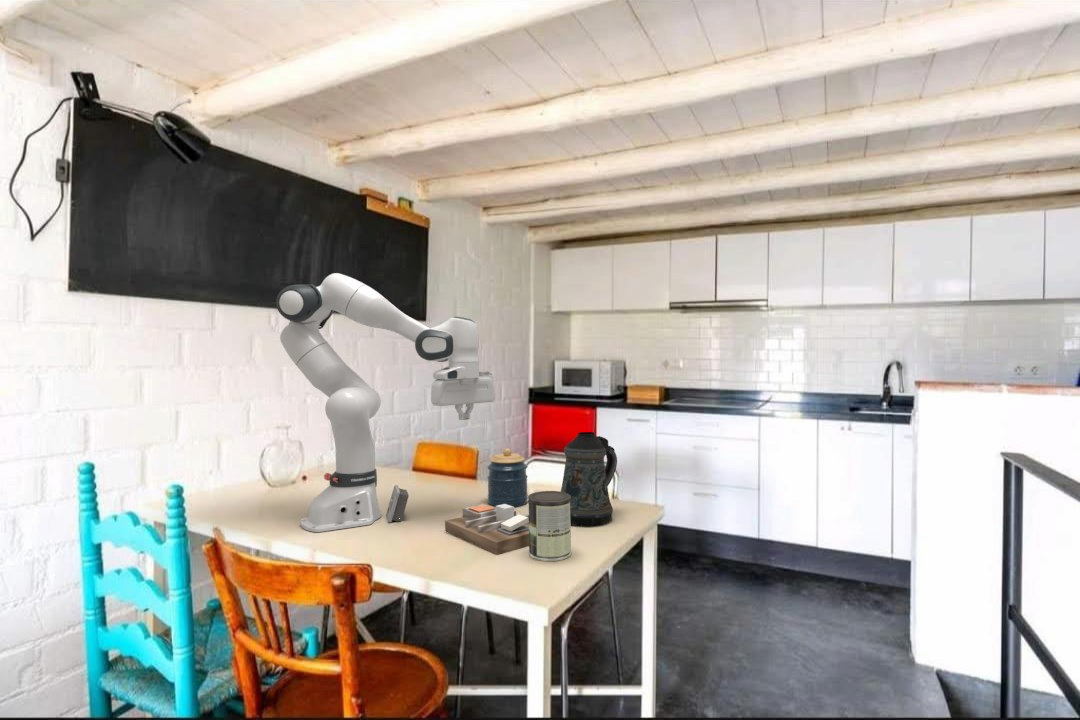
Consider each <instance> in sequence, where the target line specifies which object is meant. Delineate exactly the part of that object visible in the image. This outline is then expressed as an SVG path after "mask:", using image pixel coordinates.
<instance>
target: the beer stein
mask: <svg viewBox="0 0 1080 720" xmlns="http://www.w3.org/2000/svg"><path fill="white" fill-rule="evenodd" d="M563 448H564V449H563V451H564V455H565V464H564V470H563V478H562V484H561V489H560V492H565V493H568V494H569V495H570V496H571V500H570V517H571V527H577V528H578V527H579V528H581V527H582V528H592V527H600V526H604V525H607V524H609V523H611V521H612V515H613V512H614V507H613V506H612V502H611V499H610V496H609V494H610V493H609V488H608V487H609V485H610V483H611V481H612V480H613V477H614V475H615V474H616V470H617V466H618V457H617V454H616V452H615V448H614V447H612V446H611V445H609V440H608V439H607V438H606V437H603V436H601V435H599V436H598V435H596V433H595V432H592V431H584V432H583V431H581V432H577V435H576V437H575V438H574V439H572V440H571V441H570V442H569V443H568V444H566V445H565V447H563ZM605 457H606V464H605Z"/></svg>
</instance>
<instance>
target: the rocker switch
mask: <svg viewBox="0 0 1080 720" xmlns="http://www.w3.org/2000/svg"><path fill="white" fill-rule="evenodd" d="M528 522H529V519H528V517H525V516H523V515H522V514H519V513H518V514H516V516H514V517H512V518H510V519H508V520H506V521H504V522H503V523H501V528H503V529H506V530H509V531H513V530H515V529H517V528H518V527H520V526H522V525H524V524H526V523H528Z"/></svg>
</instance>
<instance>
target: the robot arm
mask: <svg viewBox="0 0 1080 720" xmlns="http://www.w3.org/2000/svg"><path fill="white" fill-rule="evenodd" d="M275 304H276V309H277V310H278V311H277V312H278V313H279V314H280V315H281V317H283V318H285V320H288V321H289V322H288V324H287V325H286V326H285V327H284V328H283V329H282V330H281V333H280V337H279V339H280V342H281V345H282V346H283V348H284V350H285V352H286V354H287V355H288V357H289V358H290V360H292V361H291V362H293V363H294V365H295V366H296V368H298V370H299V371H300V372H301V373H302V374H303V376H304V377H305V378H306V379H307V380H308V382H309V383H310V384H311V385H312V386H313V387H314V388H316V389H317V390H318V391H320V392H321V393H322V394H324V395H326V396H327V397H328V399H327V401H326V402H325V407H324V408H325V409H324V410H325V415H326V417H327V419H328V420H329V423H330V426H331V431H332V435H333V438H334V440H333V441H334V446H335V471H334V472H333V473H332V474H331V473H329V472H325V473H324V474H323V479H324V480H325V481H329V485H328V486H327V487H326V488H325V489H324V490H323V491H322V492H320V493H319V494H318V495H317V496H315V497H314V498H313V499H312V500H311V502H310V503H309V506H308V514H307V517H306V516H305V517H303V518H301V519H300V521H299V522H300V523H299V526H300V527H301V528H303V529H304V530H306V531H308V532H313V533H323V532H329V531H335V530H343V529H349V528H355V527H362V526H368V525H372V524H374V522H375V521H376V520H378V519H379V518H381V517H382V513H381V509H380V505H379V502H378V495H377V485H378V483H377V482H378V475H377V474H378V473H377V468H376V457H375V455H376V450H375V449H376V447H375V440H374V439H373V436H372V432H371V431H372V430H371V426H370V419H372V418H373V417H375V416H376V414H377V413H378V411H379V410H380V407H381V402H382V401H381V396H380V395H379V393H378V391H377V390H375V389H374V388H372V387H371V386H370V385H369V384H368V383H367V382H366V381H365V380H364V379H363V378H362V377H361V376H360V375H359V374H358V373H357V372H355V371H354V370H353V369H352V368H351V367H350V366H349V365H347V363H346V362H344V359H342V358H341V357H340V356H339V354H338V353H337V351H336V350H334V348H333V347H332V346H331V345H330V344H329V342H328V341H327V340H326V339H325V338H324V337H323V335H322V334H321V332H320V330H321V329H323V328H324V326H325V325H326V323H327V322H328V320H329V319H330V318H331V317H332V315H333V313H334V311H335V312H337V313H339V314H341V315H342V316H343V317H346V318H348V319H349V320H352V321H354V322H355V323H358V324H360V325H362V326H366V327H370V328H373V329H374V328H376V329H382V330H387V331H390V332H394V333H395V334H399V335H400V336H401V337H404V338H406V339H407V340H409V341H411V342H412V343H414V349H415V351H416V354H417V355H418V357H420V358H422V359H423V360H425V361H428V362H437V363H444V362H448V366H445V367H444V368H441V369H437V370H436V371H434V372H433V373H432V376H433V377H432V378H433V379H434V380H433V382H432V384H431V390H430V391H431V393H430V401H431V404H432V406H436V407H443V406H454V409H455V410H456V412H457V414H458V420H459V421H465V420H471V413H472V411H473V409H474V406H475V405H474V404H482V403H483V404H484V403H493V402H494V401H495V399H496V393H495V384H494V375H493V374H492V373H491V372H490V371H480V360H479V356H478V355H479V353H478V352H479V348H480V347H479V346H480V345H479V330H478V325H477V323H476V322H475V321H474V320H473V319H470V318H466V317H460V316H452V317H450V318H449V319H447V320H446V321H444V322H443V323H441V324H438V325H437V326H436V325H435V326H433V327H430V326H427V325H426V324H423V323H422V322H420V321H418V320H416V319H415V318H413V317H410V316H409V315H407V314H405V313H404V312H403V311H401V310H400V309H399V308H398V307H396V306H395V305H394V304H392V303H391V302H390V300H388V299H387V298H385V297H384V296H383V295H382V294H381V293H379V292H378V291H377V290H375V289H374V288H372V287H371V286H369V285H367V284H365V283H363V282H362V281H359V280H358V279H356V278H353V277H351V276H349V275H347V274H346V275H345V274H342V273H338V272H336V273H335V272H334V273H331V274H329V275H327V276H325V278H324V279H323V281H322V282H321V284H320V285H318V286H315V285H314V284H292V285H288V286H286V287H284V288H282V289H281V290H280V291H279V293H278V294H277V296H276V301H275ZM464 405H465V408H466V410H465V412H463V408H464Z"/></svg>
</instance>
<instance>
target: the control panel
mask: <svg viewBox="0 0 1080 720" xmlns="http://www.w3.org/2000/svg"><path fill="white" fill-rule="evenodd" d="M480 505H486V506H489V507H492V508H494V510H491V511H486V512H482V513H477V512H474V511H472V510H469V508H471V507H476V506H480ZM516 515H517V510H515V509H514V516H516ZM522 516H525V517H528V519H529V514H524V515H522ZM506 520H508V519H506ZM506 520H502V521H496V506H492V505H490V504H488V503H483V504H478V505H473V506H469V507H464V508H462V516H460V517H455V518H452V519H448V520H445V521H444V523H445V524H444V526H445V527H444V528H445V529H444V532H445V531H446V532H445V533H447V532H448V533H447V534H449V533H450V535H452V536H454V537H456V538H458V537H459V538H458V539H460V538H461V540H462V541H465V542H468V543H469V542H470V543H469V544H472V545H474V546H477V547H478V548H481V549H483V550H486V551H488V552H490V553H492V554H495V555H496V556H498V555H500V554H504V553H508V552H511V551H514V550H519V549H522V548H525V547H529V522H528V523H526V524H524V525H522V526H520V527H518V528H517V529H515V530H513V531H509V530H506V529H503V528H501V523H503V522H504V521H506Z"/></svg>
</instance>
